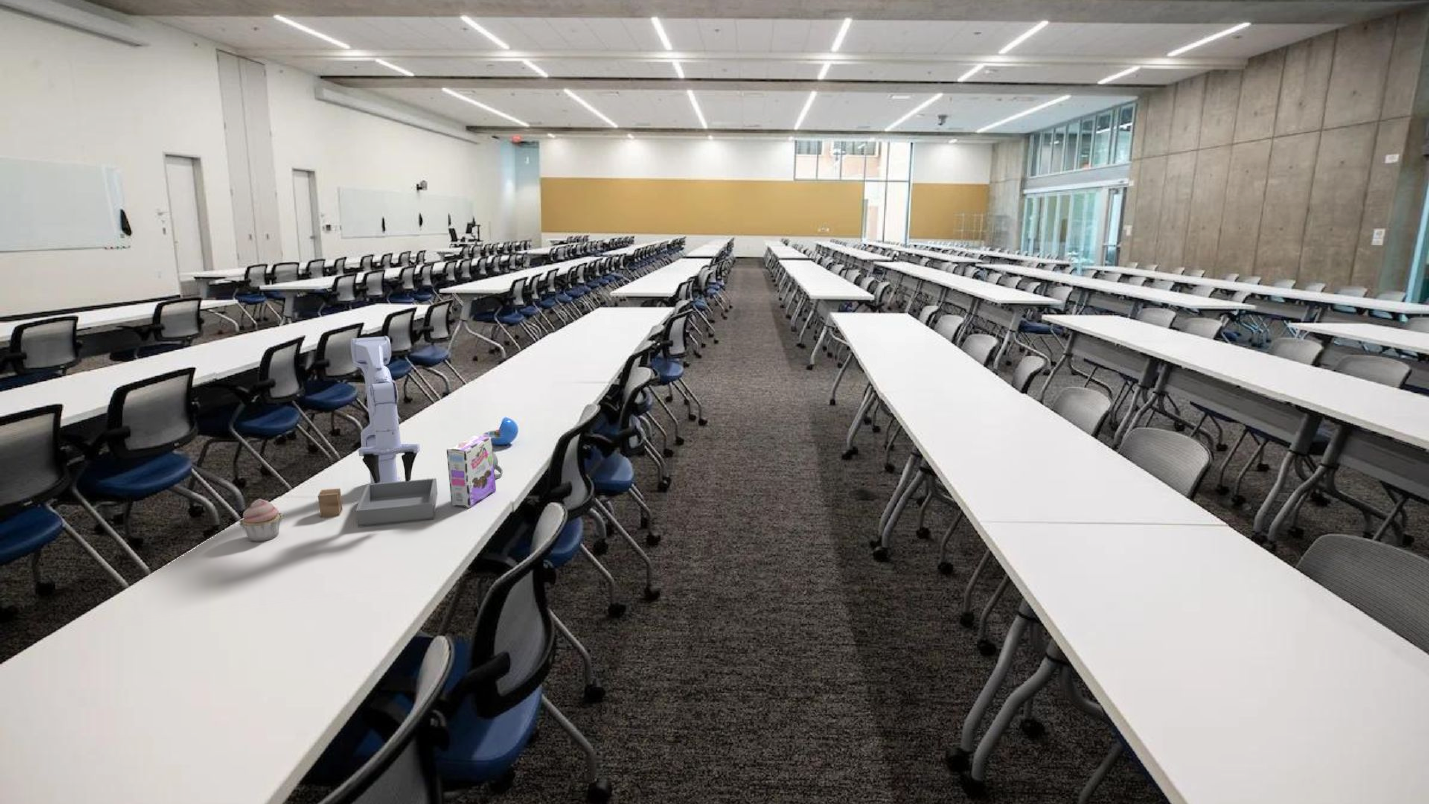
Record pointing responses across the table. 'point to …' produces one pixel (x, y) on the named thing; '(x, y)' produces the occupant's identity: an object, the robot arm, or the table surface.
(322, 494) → the walnut block
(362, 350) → the robot arm
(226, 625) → the table surface
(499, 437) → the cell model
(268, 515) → the cupcake
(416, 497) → the grey bin
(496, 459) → the ceramic mug
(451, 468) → the candy box
